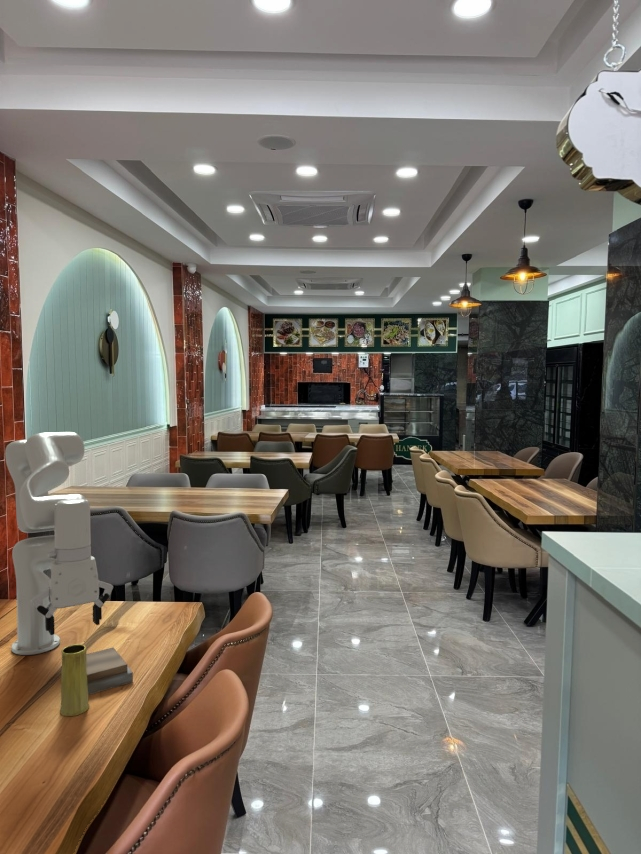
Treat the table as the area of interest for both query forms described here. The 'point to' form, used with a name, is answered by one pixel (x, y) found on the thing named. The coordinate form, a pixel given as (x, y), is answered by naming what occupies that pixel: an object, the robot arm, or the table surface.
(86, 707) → the vase
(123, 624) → the table surface
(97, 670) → the stand
